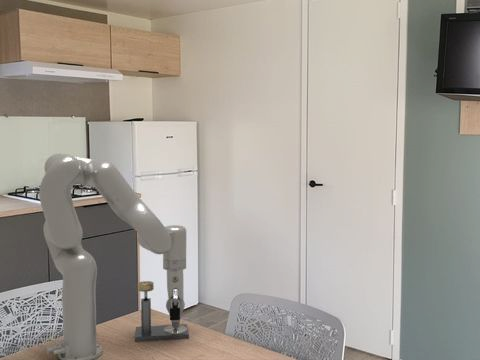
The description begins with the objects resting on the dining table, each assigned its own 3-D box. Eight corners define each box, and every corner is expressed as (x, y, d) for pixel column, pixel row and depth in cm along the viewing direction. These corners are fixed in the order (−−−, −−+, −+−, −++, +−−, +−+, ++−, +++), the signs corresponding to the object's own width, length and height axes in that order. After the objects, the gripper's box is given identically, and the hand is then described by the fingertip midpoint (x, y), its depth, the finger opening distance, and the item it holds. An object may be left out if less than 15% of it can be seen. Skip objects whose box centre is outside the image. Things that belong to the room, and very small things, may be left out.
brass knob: (137, 305, 170) (137, 285, 169) (138, 300, 175) (138, 281, 174) (153, 305, 171) (153, 285, 170) (153, 300, 175) (153, 280, 175)
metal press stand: (134, 341, 169) (134, 304, 168) (136, 331, 178) (135, 296, 176) (188, 338, 171) (188, 302, 170) (186, 328, 180) (186, 293, 179)
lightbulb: (183, 332, 172) (183, 299, 171) (165, 331, 173) (164, 299, 171) (186, 324, 178) (185, 293, 177) (168, 324, 179) (167, 293, 177)
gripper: (187, 270, 165) (187, 323, 166) (184, 257, 182) (184, 306, 183) (163, 270, 164) (163, 324, 165) (162, 257, 181) (162, 306, 182)
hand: (174, 314), depth 174 cm, fingers open, 9 cm apart
